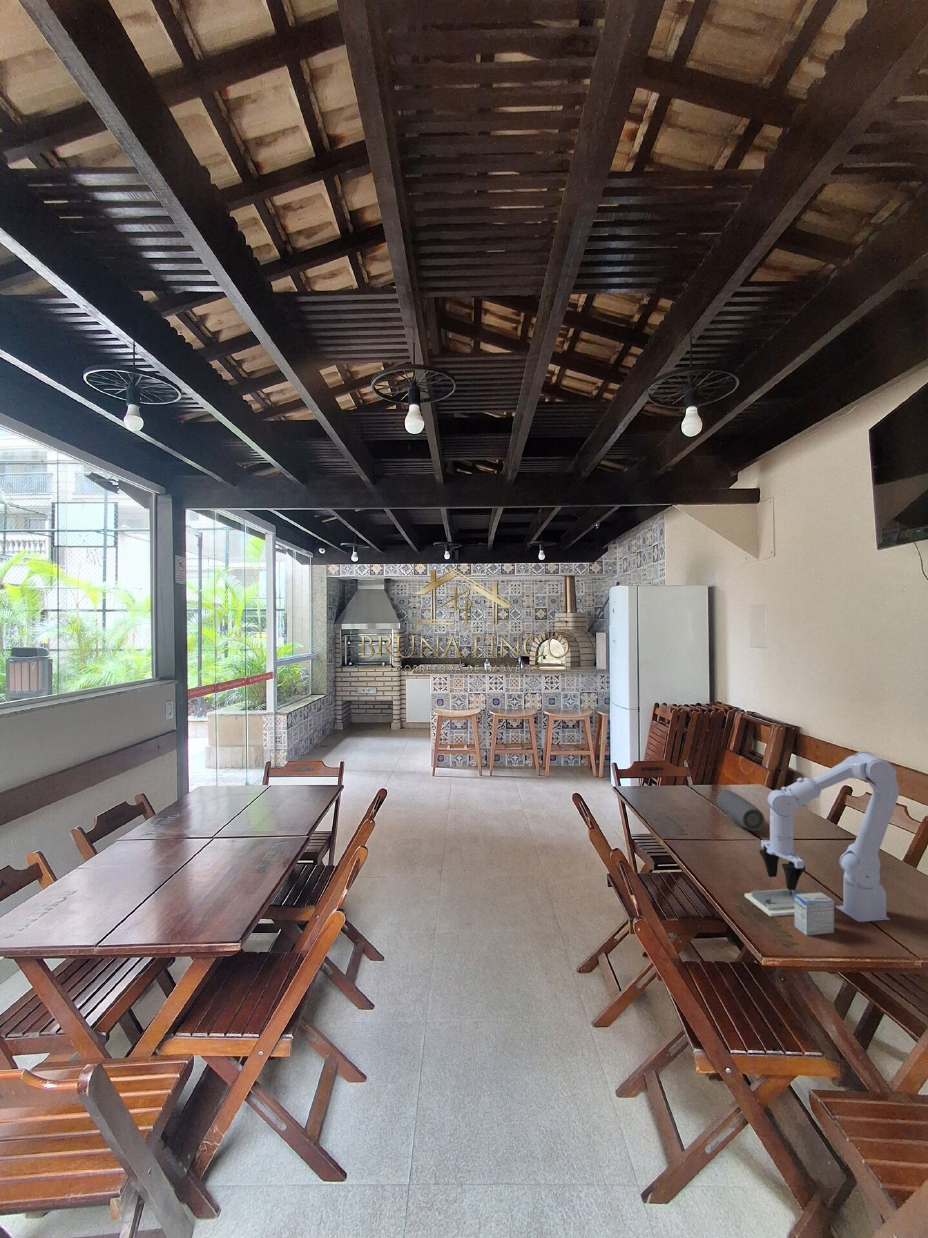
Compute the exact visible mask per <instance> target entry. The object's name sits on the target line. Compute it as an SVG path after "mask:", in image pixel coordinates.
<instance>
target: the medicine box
mask: <svg viewBox="0 0 928 1238" xmlns="http://www.w3.org/2000/svg"><path fill="white" fill-rule="evenodd" d="M794 927H795V929H797V930H798V931H800V932H801V933H802V934H803V935H805V936H815V935H825V934H834V932H835V901H834V900H833V899H832V898H830V897H829V896H828V895H826V894H824V893H823V892H809V893H808V892H807V893H806V894H796V895H795V915H794Z"/></svg>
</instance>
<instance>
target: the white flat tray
mask: <svg viewBox="0 0 928 1238" xmlns="http://www.w3.org/2000/svg"><path fill="white" fill-rule="evenodd" d="M796 894H807V893H806V892H804V891H803V890H801V889H800V888H798V887H797V886H796V889H795V890H788V889H787V888H780V889H765V890H759V889H754V890H753V891H752V890H751V891H750V892H748V893H746V892H745V893H744V898H746V899H747V900H749V901H750V902H751V903H752V904H754V905H755V906H756V907H757V908H759V909H760V910H761V911H763V912H764V913H765V914H767V915H768V916H769V917H781V916H782V917H783V916H795V895H796Z"/></svg>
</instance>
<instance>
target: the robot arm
mask: <svg viewBox="0 0 928 1238" xmlns="http://www.w3.org/2000/svg"><path fill="white" fill-rule="evenodd" d="M897 774H898V772H897V770H896V769H895V767H893V766H892V764H891V763H890V762H889V761H887V760H885V759H884V758H883V759H882V758H880V757H878V756H876V755H875V754H873V753H871V752H869V751H858V752H856V753H855V754H854V755H853V754H852V755H850V756H847V757H846V758H845V759H844V760H843V761H842V762H840V763H838V764H836V765H835V766H833V767H831V768H829V769H827V770H825V771H824V772H822V773H820V774H819V775H817V776H815V777H813V778H811V777H810V778H809V777H804V778H802V777H798V778H796V782H793V783H791V784H790V785H787V786H786V787H785V786H782V787H781V788H780V789H774V790H772V791H771V792H769V795H768V796H767V797H766V803H767V804H768V806H769V813H770V814H769V839H761V840H760V842H761V843H760V846H761V848H763V849H760V850H759V854H760V857H761V858H762V859H763V862H764V865H765V868H766V872H767V876H768V877H769V878H777V875H778V864H779V860H780V858H782V859H783V860H784V861H787V862H788V863H781V867H782V870H783V872H784V876H785V884H786V885H785V886H786V889H788V890H795V889H796V887H797V885H798V882H799V879H800V877H801V875H802V874H803V873H804V871H805V870H806V866H805V864H804V863H805V861H804V860H803V859H801V858H800V857H799V856H798V855H797V853H796V852H795V851H794V820H793V817H794V816H793V815H794V814H795V813H796V811H797V809H798V808H799V807H801V806H803V805H805V804H807V803H809V802H812V801H813V800H815V799H817V798H819V797H820V796H821V793H822V791H823V790H824V789H827V788H829V787H832V786H834V785H837V784H838V783H839V784H840V783H842V782H843V781H846V780H849V779H854V780H862V781H867V783H868V784H869V786H870V787H871V789H872V793H871V795H870V799H869V801H868V804H867V807H866V809H865V810H866V811H865V813H864V816H863V818H862V821H861V824H860V827H859V829H858V833H857V835H856V839H855V841H854V842H853V843H851V844H849V845H848V846H847V849H846V851H845V852H844V853H842V854H841V856H840V857H839V865H840V867H841V869H842V870H843V871H844V873H843V880H842V881H843V882H842V883H843V891H842V893H843V897H842V898H843V901H842V904H843V905H836V906H835V905H834V908H836V909H838V910H840V911H841V912H843V913H844V914H846V915H847V916H849V917H850V918H852V919H854V920H855V921H857V922H859V923H861V922H870V921H871V922H872V921H873V922H874V921H884V920H885V921H886V920H887V921H890V918H889V917H888V916H887V893H886V891H885V888H884V887H883V886H882V884H881V883H880V881H881V875H880V874H881V873H880V869H881V866H882V865H881V864H882V863H881V861H880V857H879V851H880V848H881V846H882V843H883V840H884V837H885V836H886V835H885V834H886V832H887V830H888V826H889V824H890V821H891V818H892V816H893V812H894V809H895V807H896V805H897V801H898V798H899V795H900V787H899V784H898V781H897V780H898V779H897Z"/></svg>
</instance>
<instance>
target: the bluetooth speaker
mask: <svg viewBox="0 0 928 1238" xmlns="http://www.w3.org/2000/svg"><path fill="white" fill-rule="evenodd" d="M717 794H718V795H717V797H716V801H715V802H716V804H717V806H718V807H719V808H720V809H721V811H723V813H725V814H726V815H727V816H728V817H729V818H730V820H731V821H732V822H733V823H734V824H736V825H737V826H738V827H740V828H745V829H747V830H748V831H749V830H750V831H759V830H760V829H762V828H763V827H764V825H765V821H766V819H765V816H764V814H763V812H762V811H761V810H760V809H759V808H758V807H756V806H755V804H752V803H751V802H750V801H749V800H747V799H746V798H744V797H742V796H741V795H740V794H737V793H736V792H734V791H731V790H728V789H726V790H722V791H720V792H719V793H717Z"/></svg>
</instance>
